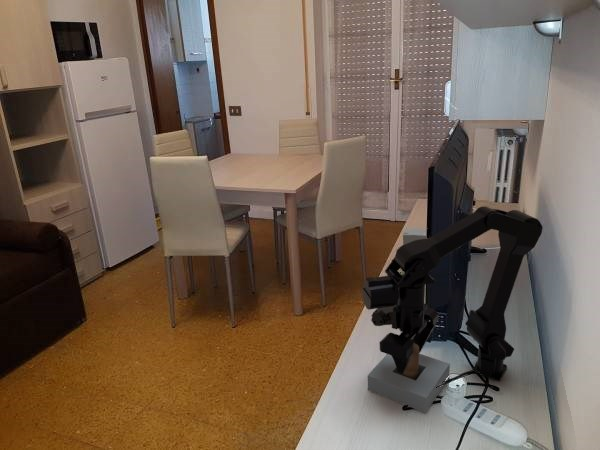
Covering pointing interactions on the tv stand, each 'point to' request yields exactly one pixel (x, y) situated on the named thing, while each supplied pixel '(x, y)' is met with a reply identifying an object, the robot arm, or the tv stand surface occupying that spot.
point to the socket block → (409, 382)
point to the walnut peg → (412, 364)
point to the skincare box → (413, 235)
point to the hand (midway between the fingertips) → (409, 362)
